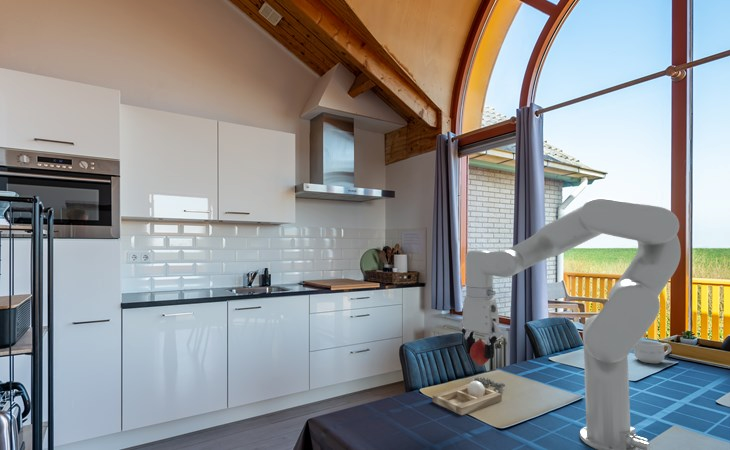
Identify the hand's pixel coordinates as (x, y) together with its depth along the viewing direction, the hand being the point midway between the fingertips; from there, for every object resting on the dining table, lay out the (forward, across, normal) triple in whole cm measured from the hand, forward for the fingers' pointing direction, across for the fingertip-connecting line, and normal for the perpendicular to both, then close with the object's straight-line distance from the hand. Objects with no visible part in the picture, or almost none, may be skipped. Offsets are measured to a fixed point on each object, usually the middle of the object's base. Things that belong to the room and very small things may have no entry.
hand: (479, 354), depth 115 cm
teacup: (+17, -8, -99) cm, 101 cm away
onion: (+3, 0, 0) cm, 3 cm away
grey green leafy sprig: (+18, +11, -18) cm, 28 cm away
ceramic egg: (+17, +8, -8) cm, 20 cm away
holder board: (+18, +8, -4) cm, 20 cm away
